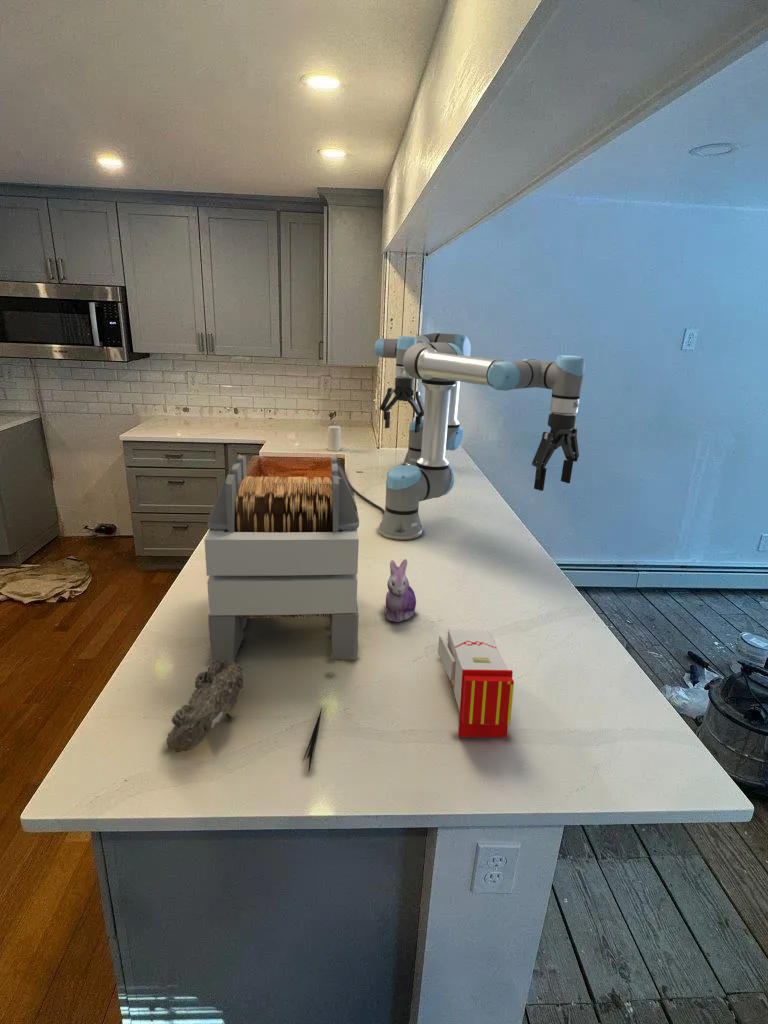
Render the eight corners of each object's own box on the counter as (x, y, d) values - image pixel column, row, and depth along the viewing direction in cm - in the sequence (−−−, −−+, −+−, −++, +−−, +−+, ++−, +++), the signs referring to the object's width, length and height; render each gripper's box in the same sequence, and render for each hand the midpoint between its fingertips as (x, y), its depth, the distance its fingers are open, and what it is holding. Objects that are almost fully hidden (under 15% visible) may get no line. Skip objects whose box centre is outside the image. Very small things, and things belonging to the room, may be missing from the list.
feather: (331, 679, 122) (336, 673, 122) (307, 777, 96) (313, 769, 95) (324, 675, 122) (329, 669, 121) (298, 772, 95) (304, 764, 95)
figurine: (392, 627, 141) (395, 572, 136) (374, 608, 149) (376, 556, 144) (425, 619, 145) (429, 566, 140) (405, 601, 154) (408, 550, 149)
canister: (342, 450, 312) (343, 427, 308) (332, 451, 308) (332, 428, 304) (335, 447, 317) (336, 425, 313) (325, 449, 313) (325, 426, 309)
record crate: (230, 591, 155) (223, 445, 141) (350, 589, 159) (354, 447, 145) (208, 664, 123) (195, 486, 109) (358, 660, 127) (363, 487, 113)
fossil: (192, 660, 117) (244, 628, 112) (224, 691, 120) (276, 661, 115) (142, 746, 98) (202, 712, 93) (182, 779, 101) (242, 748, 96)
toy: (488, 613, 130) (523, 677, 101) (484, 667, 133) (517, 744, 104) (435, 612, 130) (455, 676, 101) (432, 666, 133) (451, 743, 103)
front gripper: (548, 419, 148) (537, 496, 155) (598, 411, 163) (586, 482, 171) (525, 414, 153) (515, 489, 160) (575, 407, 169) (564, 476, 176)
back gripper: (372, 375, 227) (370, 427, 234) (429, 381, 216) (425, 435, 223) (381, 373, 233) (379, 424, 240) (437, 379, 222) (433, 432, 230)
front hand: (552, 485), depth 166 cm, fingers open, 13 cm apart
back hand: (401, 430), depth 232 cm, fingers open, 13 cm apart
